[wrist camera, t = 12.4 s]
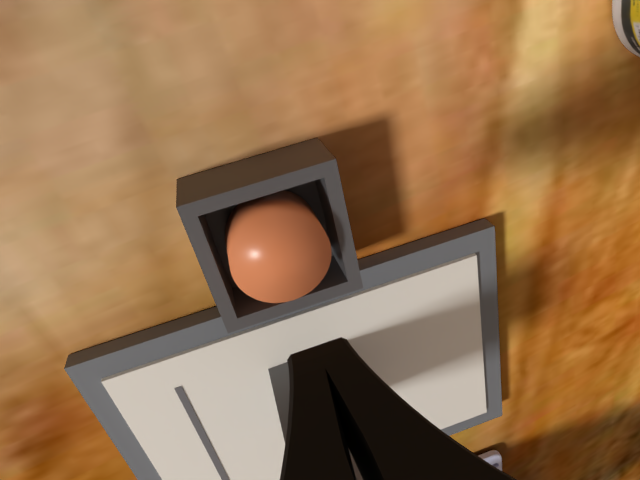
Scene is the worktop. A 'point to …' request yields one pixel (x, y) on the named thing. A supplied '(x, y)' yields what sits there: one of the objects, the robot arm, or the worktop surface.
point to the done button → (276, 247)
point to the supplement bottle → (627, 23)
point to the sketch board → (291, 337)
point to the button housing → (257, 181)
